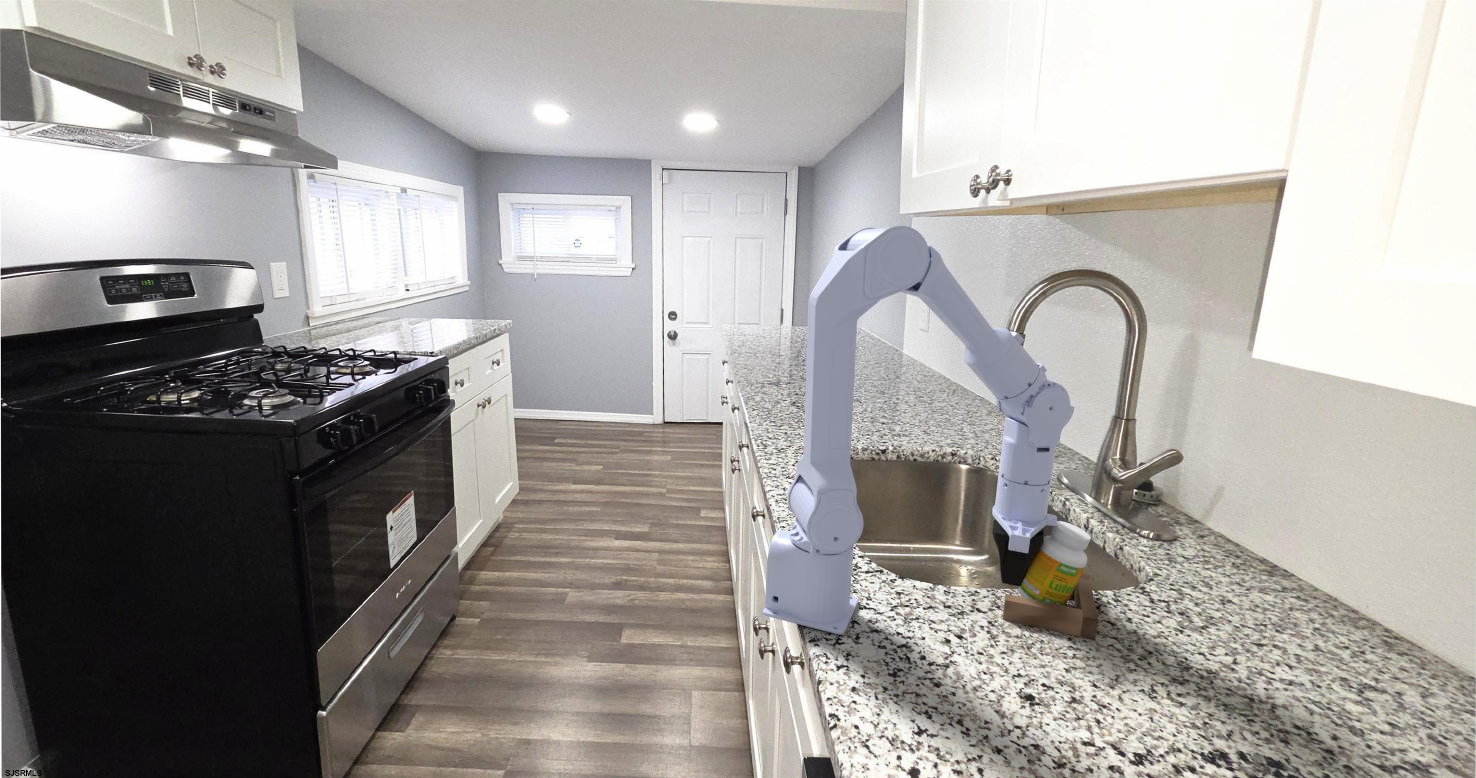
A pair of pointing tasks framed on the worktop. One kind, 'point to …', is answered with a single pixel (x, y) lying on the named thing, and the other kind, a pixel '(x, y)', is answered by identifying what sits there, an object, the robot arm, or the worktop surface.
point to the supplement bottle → (1056, 565)
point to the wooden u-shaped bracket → (1057, 612)
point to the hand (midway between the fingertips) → (1011, 582)
